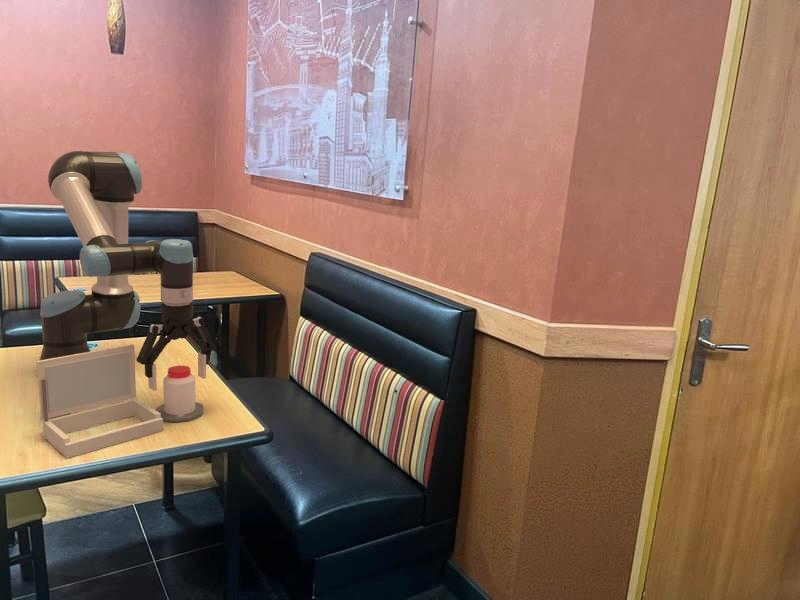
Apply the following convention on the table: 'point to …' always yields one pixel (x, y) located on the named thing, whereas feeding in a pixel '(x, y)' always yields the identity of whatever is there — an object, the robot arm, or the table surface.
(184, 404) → the pill bottle
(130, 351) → the box
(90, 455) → the table surface
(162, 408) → the saucer
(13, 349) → the table surface
